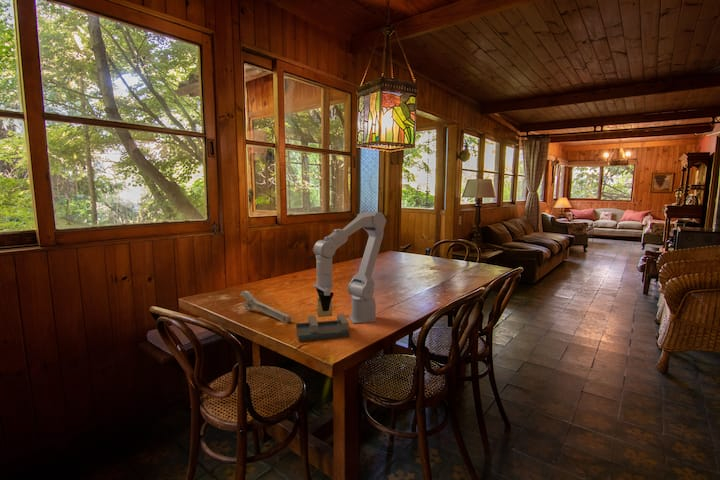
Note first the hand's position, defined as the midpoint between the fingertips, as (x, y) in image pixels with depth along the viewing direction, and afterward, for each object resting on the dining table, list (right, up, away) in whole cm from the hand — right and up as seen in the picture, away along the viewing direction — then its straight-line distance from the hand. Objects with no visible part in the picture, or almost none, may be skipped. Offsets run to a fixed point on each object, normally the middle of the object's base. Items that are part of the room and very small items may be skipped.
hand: (324, 308), depth 137 cm
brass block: (0, -2, 0) cm, 2 cm away
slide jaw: (-4, -7, -2) cm, 9 cm away
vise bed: (-1, -9, -1) cm, 9 cm away
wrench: (-27, -6, +17) cm, 33 cm away
